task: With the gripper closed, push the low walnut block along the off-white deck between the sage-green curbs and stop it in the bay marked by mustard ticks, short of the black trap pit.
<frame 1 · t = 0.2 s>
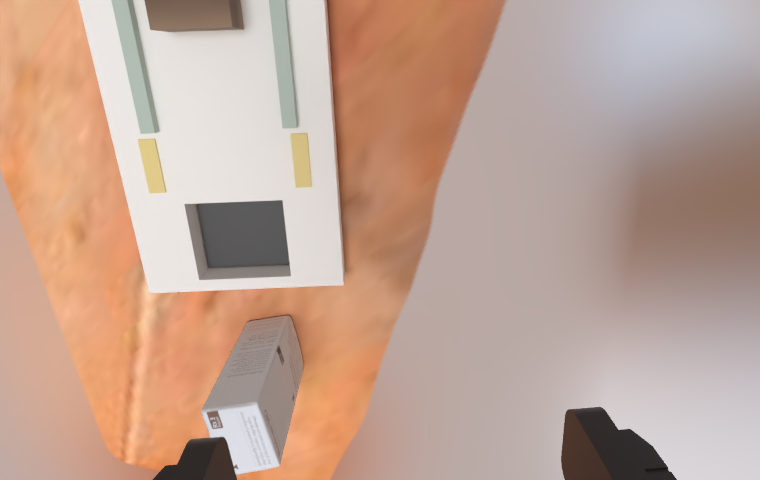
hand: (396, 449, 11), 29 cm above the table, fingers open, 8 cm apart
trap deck: (231, 124, 36), on the table
skincare box: (274, 341, 44), on the table
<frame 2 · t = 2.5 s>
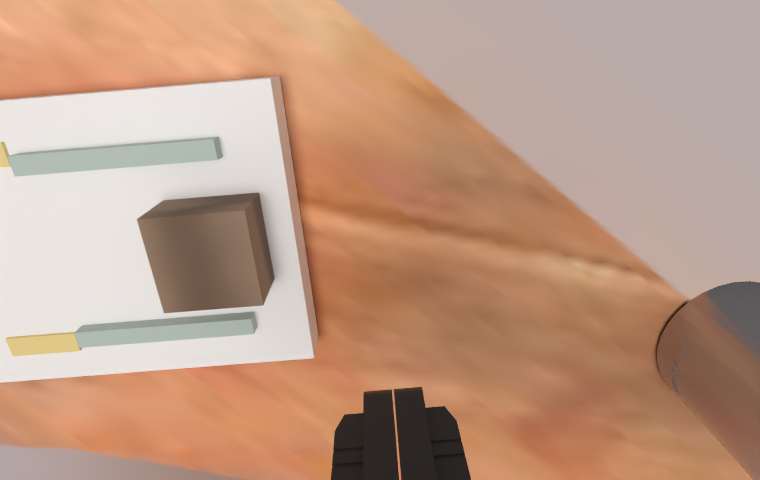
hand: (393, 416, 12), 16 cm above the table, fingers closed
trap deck: (82, 237, 27), on the table
walnut block: (221, 240, 25), point 2 cm above the table, touching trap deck
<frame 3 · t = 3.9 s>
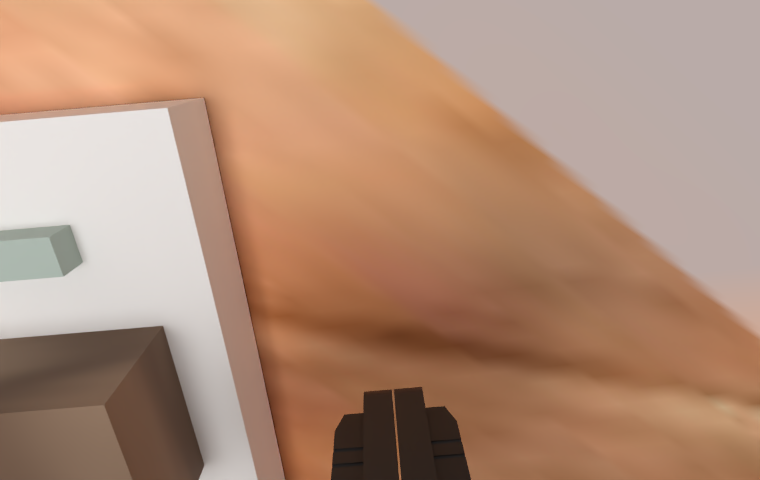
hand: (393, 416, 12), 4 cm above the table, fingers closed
walnut block: (98, 407, 13), point 2 cm above the table, touching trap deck
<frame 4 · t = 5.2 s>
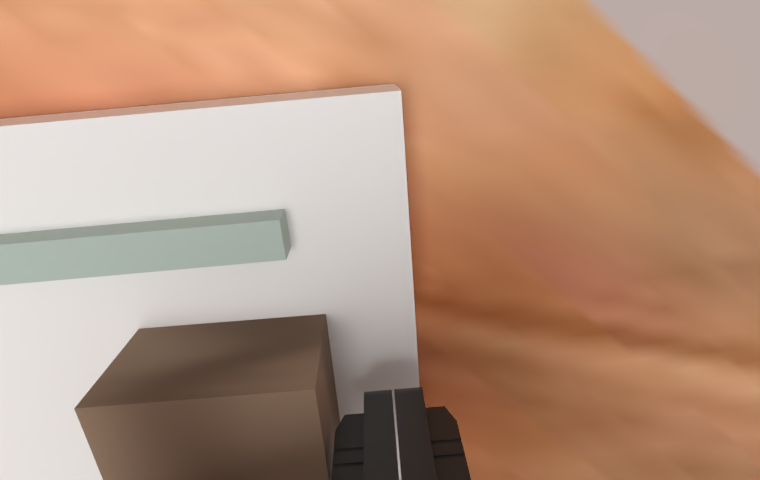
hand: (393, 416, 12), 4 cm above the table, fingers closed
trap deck: (27, 366, 16), on the table
walnut block: (249, 395, 13), point 3 cm above the table, touching gripper, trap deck
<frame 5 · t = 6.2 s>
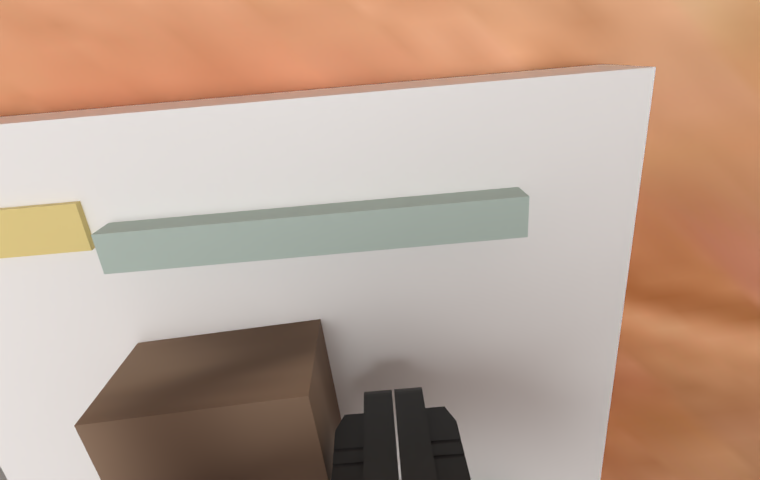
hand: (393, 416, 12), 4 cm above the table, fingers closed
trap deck: (195, 350, 16), on the table
walnut block: (250, 403, 13), point 3 cm above the table, touching gripper, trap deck
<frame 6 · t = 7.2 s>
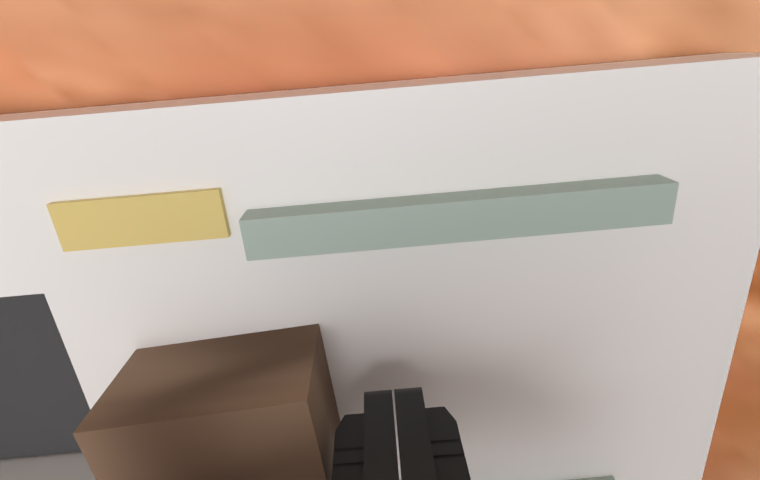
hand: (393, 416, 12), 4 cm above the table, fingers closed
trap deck: (294, 341, 16), on the table
walnut block: (249, 408, 13), point 2 cm above the table, touching gripper, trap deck
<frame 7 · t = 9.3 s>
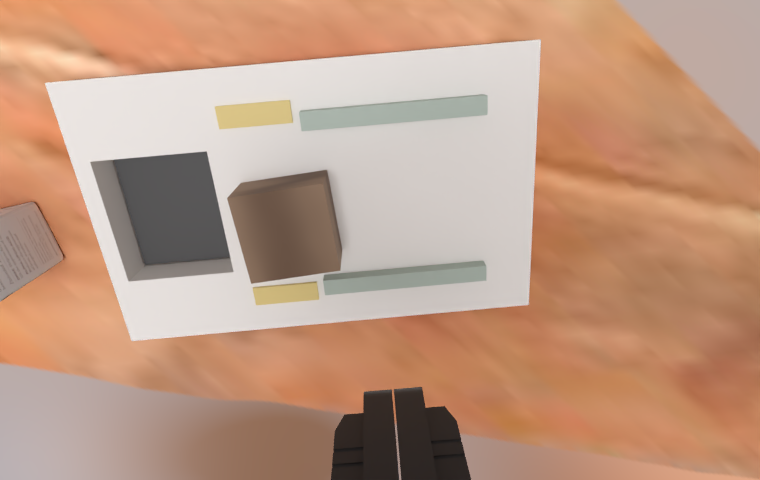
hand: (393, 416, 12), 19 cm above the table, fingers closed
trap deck: (317, 194, 30), on the table
walnut block: (293, 217, 28), point 2 cm above the table, touching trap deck
skincare box: (12, 235, 30), on the table
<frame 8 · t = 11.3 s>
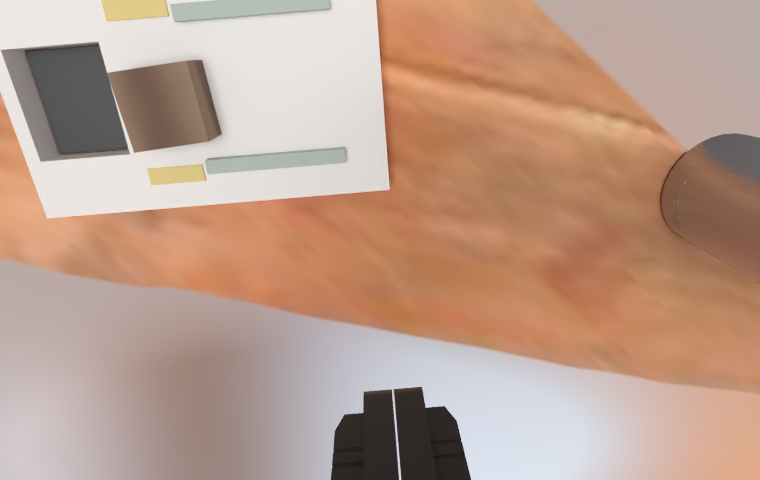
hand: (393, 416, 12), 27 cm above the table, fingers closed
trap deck: (205, 91, 34), on the table
walnut block: (176, 103, 32), point 2 cm above the table, touching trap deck
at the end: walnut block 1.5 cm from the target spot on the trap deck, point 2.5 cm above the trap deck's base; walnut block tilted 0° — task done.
